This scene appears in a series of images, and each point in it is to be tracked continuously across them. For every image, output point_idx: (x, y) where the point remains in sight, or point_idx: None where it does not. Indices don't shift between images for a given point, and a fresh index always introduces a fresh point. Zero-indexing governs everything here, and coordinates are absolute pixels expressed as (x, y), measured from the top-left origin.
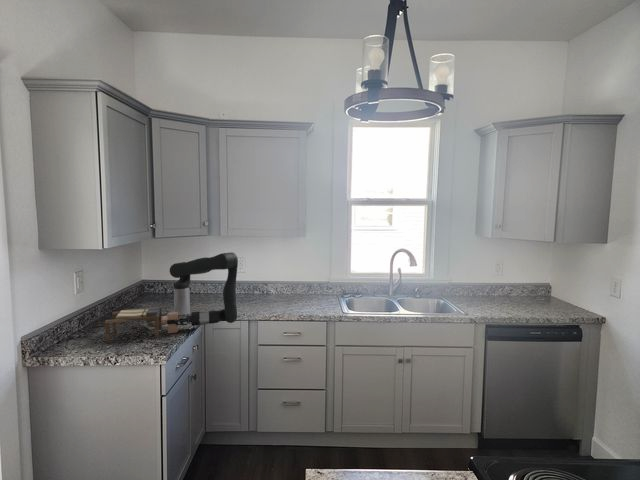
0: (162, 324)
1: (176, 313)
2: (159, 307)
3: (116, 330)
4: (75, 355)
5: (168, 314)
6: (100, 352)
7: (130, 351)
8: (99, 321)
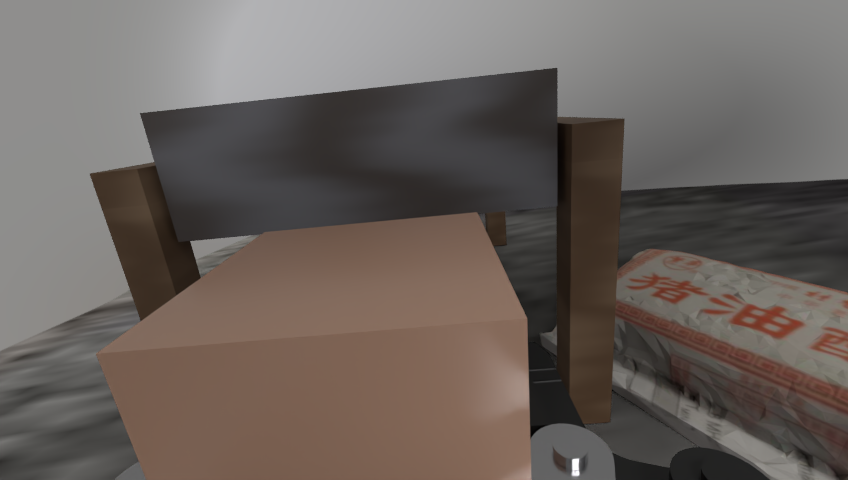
0: (695, 391)
1: (259, 320)
2: (513, 88)
3: (488, 230)
4: (246, 238)
5: (299, 235)
6: (206, 268)
7: (61, 344)
8: (687, 190)
